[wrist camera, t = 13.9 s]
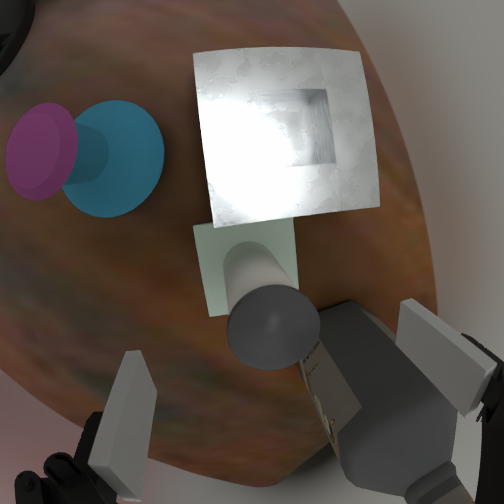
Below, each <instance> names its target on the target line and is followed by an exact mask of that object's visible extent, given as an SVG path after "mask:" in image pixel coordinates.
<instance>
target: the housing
mask: <svg viewBox="0 0 504 504" xmlns="http://www.w3.org/2000/svg"><path fill="white" fill-rule="evenodd" d="M193 61H194V71H195V81H196V90H197V100H198V109H199V117H200V126H201V134H202V142H203V150H204V158H205V166H206V173H207V181H208V188H209V195H210V202H211V209H212V216H213V223H214V228H219V227H225V226H232V225H239V224H246V223H253V222H260V221H267V220H274V219H281V218H289V217H297V216H304V215H312V214H320V213H328V212H336V211H345V210H353V209H362V208H371V207H380V196H379V180H378V167H377V156H376V147H375V138H374V130H373V123H372V116H371V109H370V103H369V97H368V91H367V86H366V80H365V75H364V70H363V66H362V61H361V57H360V52H356V51H347V50H337V49H325V48H307V47H258V48H240V49H227V50H217V51H208V52H200V53H193Z"/></svg>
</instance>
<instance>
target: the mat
mask: <svg viewBox="0 0 504 504" xmlns="http://www.w3.org/2000/svg"><path fill="white" fill-rule="evenodd" d="M193 230H194V236H195V242H196V248H197V254H198V259H199V265H200V270H201V276H202V281H203V286H204V291H205V296H206V301H207V306H208V311H209V316H210V317H212V316H219V315H225V314H228V306H227V298H226V289H225V280H224V271H223V263H224V259H225V257H226V255H227V253H228V252H229V251H230V249H231V248H233V247H234V246H235V245H237V244H239V243H242V242H247V241H253V242H258V243H260V244H263V245H264V246H266V247H267V248H268V249H269V250H270V252H271V253H272V254H273V256H274V257H275V258H276V260H277V261H278V263H279V264H280V265H281V267H282V268H283V270H284V271H285V272H286V274H287V275H288V276H289V278H290V279H291V281H292V282H293V283H294V285H295V286H296V288H297V289H298V290H299V286H298V272H297V259H296V247H295V235H294V224H293V217H289V218H281V219H274V220H267V221H260V222H253V223H246V224H239V225H232V226H225V227H219V228H214V223H213V222H209V223H203V224H197V225H193Z"/></svg>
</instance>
